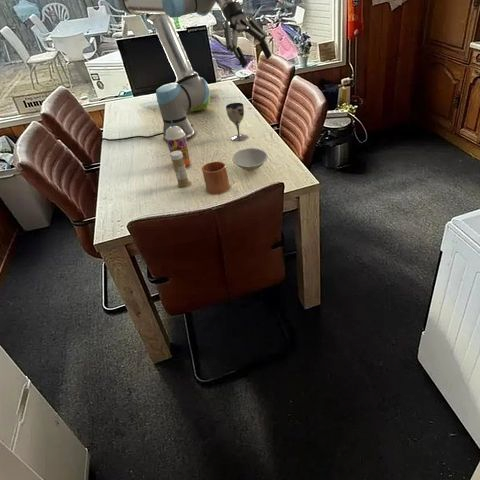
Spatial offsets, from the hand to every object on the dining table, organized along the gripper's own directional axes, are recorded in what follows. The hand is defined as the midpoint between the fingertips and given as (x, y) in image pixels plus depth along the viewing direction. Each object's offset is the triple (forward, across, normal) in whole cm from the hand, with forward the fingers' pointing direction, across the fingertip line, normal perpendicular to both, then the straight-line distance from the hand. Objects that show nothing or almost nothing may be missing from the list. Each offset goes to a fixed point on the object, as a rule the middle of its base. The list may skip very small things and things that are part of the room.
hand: (257, 61), depth 150 cm
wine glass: (+18, +2, +36) cm, 40 cm away
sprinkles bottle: (+27, -43, +24) cm, 56 cm away
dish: (+34, -18, +13) cm, 41 cm away
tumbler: (+34, -37, +13) cm, 52 cm away
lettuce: (-12, +20, +81) cm, 84 cm away
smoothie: (+19, -32, +36) cm, 52 cm away
